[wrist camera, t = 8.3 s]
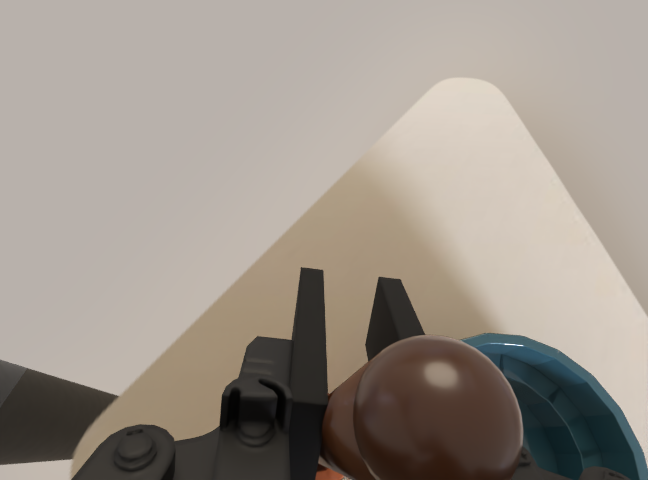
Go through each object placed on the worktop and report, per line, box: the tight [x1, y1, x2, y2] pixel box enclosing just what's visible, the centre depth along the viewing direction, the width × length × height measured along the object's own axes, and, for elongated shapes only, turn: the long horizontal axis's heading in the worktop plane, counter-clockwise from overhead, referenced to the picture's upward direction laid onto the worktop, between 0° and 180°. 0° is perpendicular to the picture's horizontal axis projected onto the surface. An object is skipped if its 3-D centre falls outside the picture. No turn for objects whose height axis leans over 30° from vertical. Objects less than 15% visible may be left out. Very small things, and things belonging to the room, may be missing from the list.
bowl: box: [459, 333, 648, 480], centre depth 27 cm, size 15×15×6 cm
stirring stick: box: [318, 335, 523, 480], centre depth 13 cm, size 2×2×20 cm
